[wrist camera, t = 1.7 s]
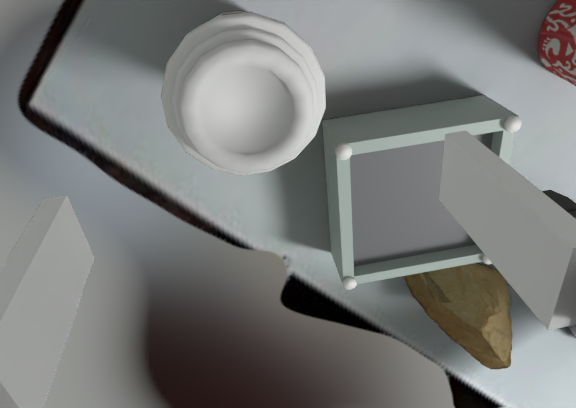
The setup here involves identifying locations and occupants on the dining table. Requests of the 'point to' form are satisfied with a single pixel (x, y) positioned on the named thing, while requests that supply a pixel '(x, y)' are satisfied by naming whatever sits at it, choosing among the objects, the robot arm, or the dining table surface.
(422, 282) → the rock
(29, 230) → the robot arm
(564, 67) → the mug
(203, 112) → the coffee cup
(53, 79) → the dining table surface
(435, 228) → the pale green square tray
